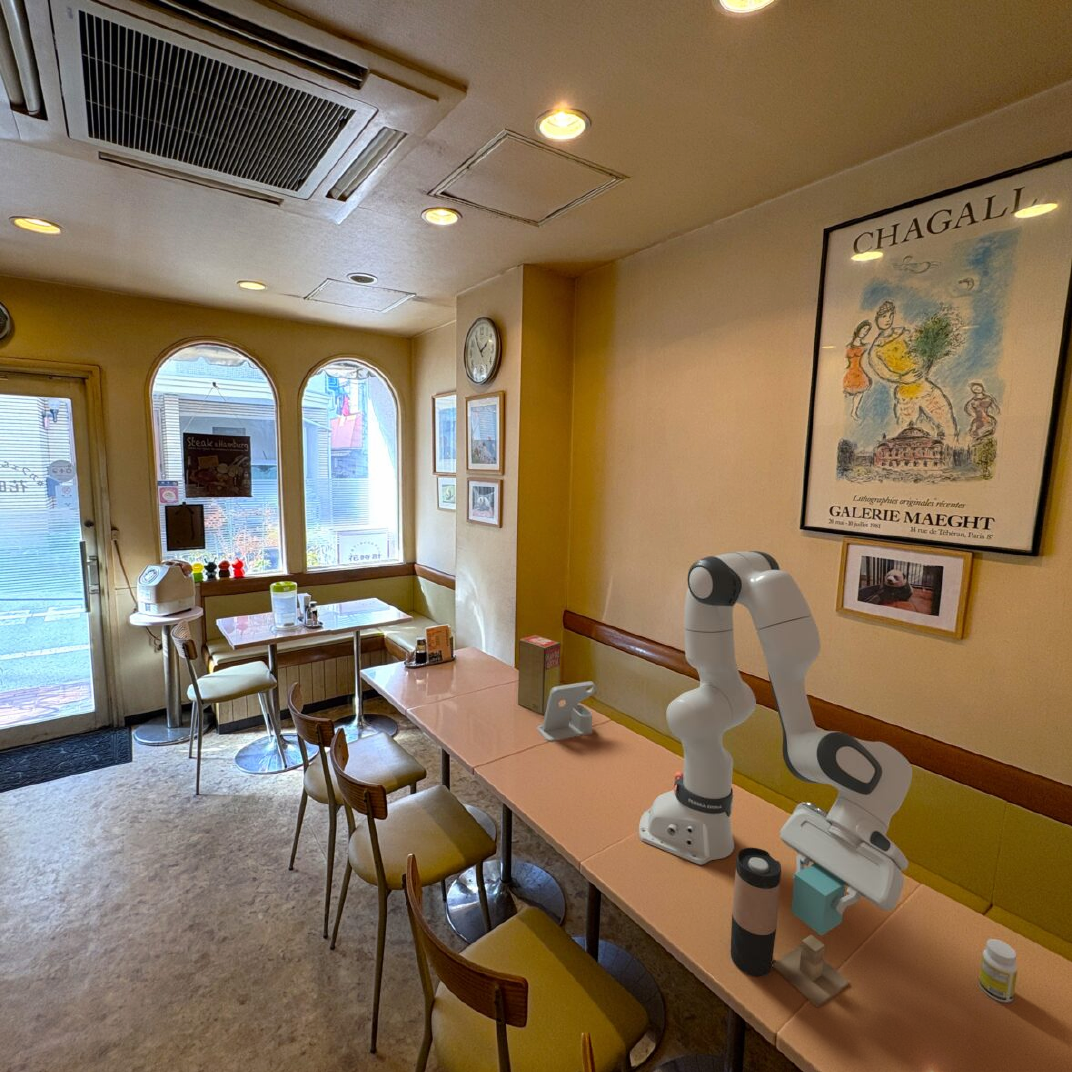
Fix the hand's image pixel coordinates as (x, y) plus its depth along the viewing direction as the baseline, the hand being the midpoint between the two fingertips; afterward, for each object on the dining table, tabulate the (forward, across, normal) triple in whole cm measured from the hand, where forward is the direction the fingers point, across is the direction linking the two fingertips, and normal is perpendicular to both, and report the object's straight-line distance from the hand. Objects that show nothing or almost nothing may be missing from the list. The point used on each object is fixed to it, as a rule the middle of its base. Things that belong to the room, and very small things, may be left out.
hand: (816, 896), depth 99 cm
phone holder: (+3, -98, +20) cm, 100 cm away
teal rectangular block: (+3, 0, +4) cm, 4 cm away
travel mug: (+16, -8, +7) cm, 19 cm away
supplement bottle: (-7, +18, +30) cm, 36 cm away
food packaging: (+2, -119, +21) cm, 121 cm away
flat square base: (+11, 0, +12) cm, 16 cm away
